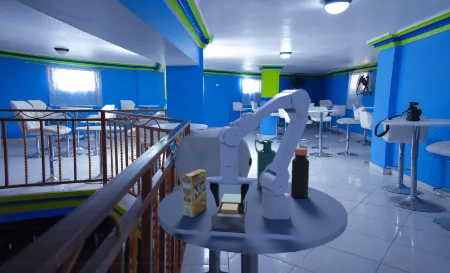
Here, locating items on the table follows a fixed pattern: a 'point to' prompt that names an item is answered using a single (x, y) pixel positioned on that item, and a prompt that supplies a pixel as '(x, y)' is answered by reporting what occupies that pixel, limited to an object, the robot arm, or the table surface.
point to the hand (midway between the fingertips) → (229, 206)
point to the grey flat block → (233, 200)
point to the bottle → (300, 174)
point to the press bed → (228, 220)
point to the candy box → (194, 192)
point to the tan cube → (229, 208)
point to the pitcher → (263, 158)
